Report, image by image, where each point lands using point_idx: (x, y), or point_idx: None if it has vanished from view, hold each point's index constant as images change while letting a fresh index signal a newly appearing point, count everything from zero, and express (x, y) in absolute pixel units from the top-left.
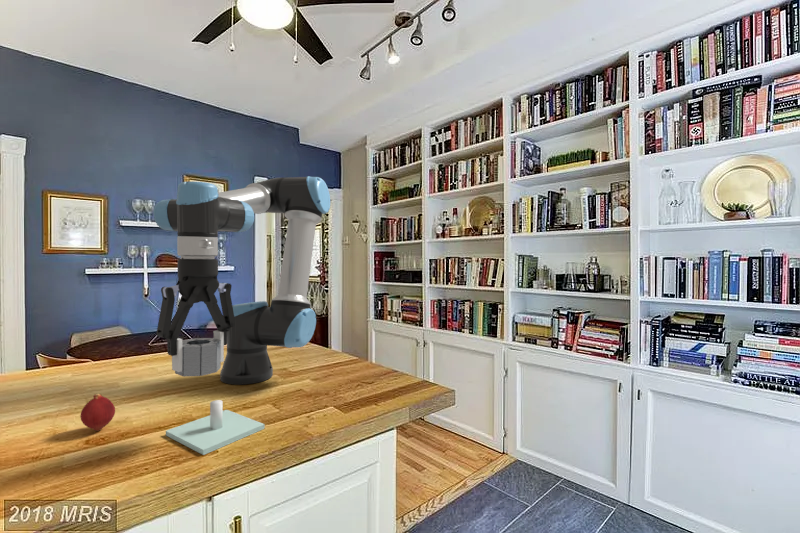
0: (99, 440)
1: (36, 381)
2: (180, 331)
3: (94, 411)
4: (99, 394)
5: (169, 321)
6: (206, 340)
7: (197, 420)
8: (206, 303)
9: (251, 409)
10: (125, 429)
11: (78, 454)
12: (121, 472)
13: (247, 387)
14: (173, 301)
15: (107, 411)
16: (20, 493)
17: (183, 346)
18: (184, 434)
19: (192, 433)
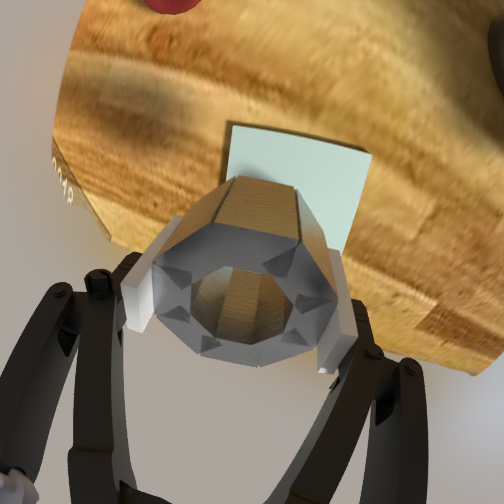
0: (163, 43)
1: None
2: (122, 355)
3: (150, 4)
4: None
5: (59, 378)
6: (293, 302)
7: (300, 141)
8: (279, 499)
9: (403, 187)
10: (213, 31)
11: (123, 73)
12: (132, 184)
13: (491, 101)
14: (36, 463)
15: (173, 8)
16: (60, 133)
17: (156, 314)
18: (240, 173)
19: None
